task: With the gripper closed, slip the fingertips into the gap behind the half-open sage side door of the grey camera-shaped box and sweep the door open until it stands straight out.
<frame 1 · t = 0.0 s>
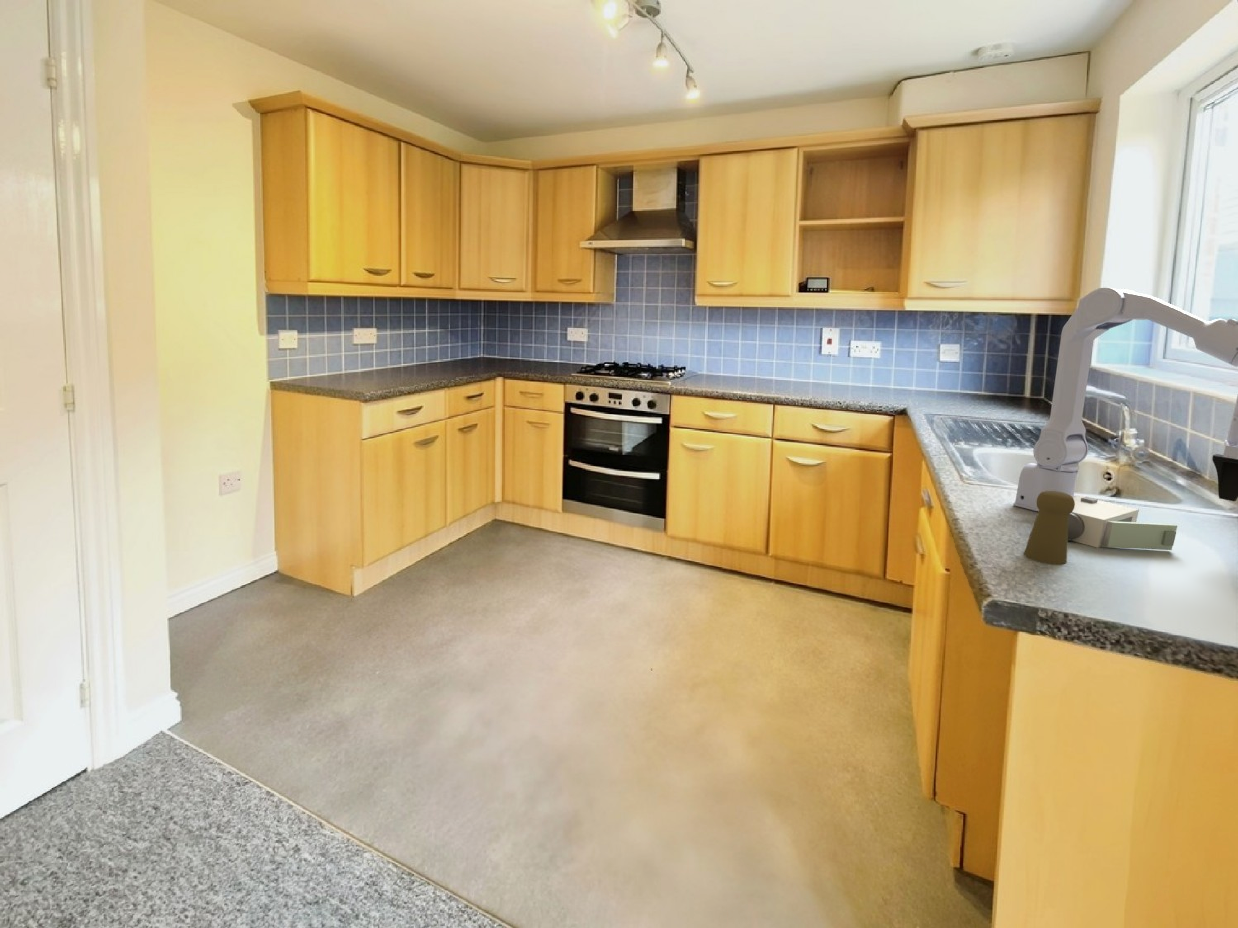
hand: (1235, 496, 116), 10 cm above the countertop, tool pointing down, fingers open, 7 cm apart
cork: (1044, 558, 113), on the countertop
side door: (1139, 536, 118), point 2 cm above the countertop, hinge at 35.0°
camera box: (1085, 533, 127), on the countertop
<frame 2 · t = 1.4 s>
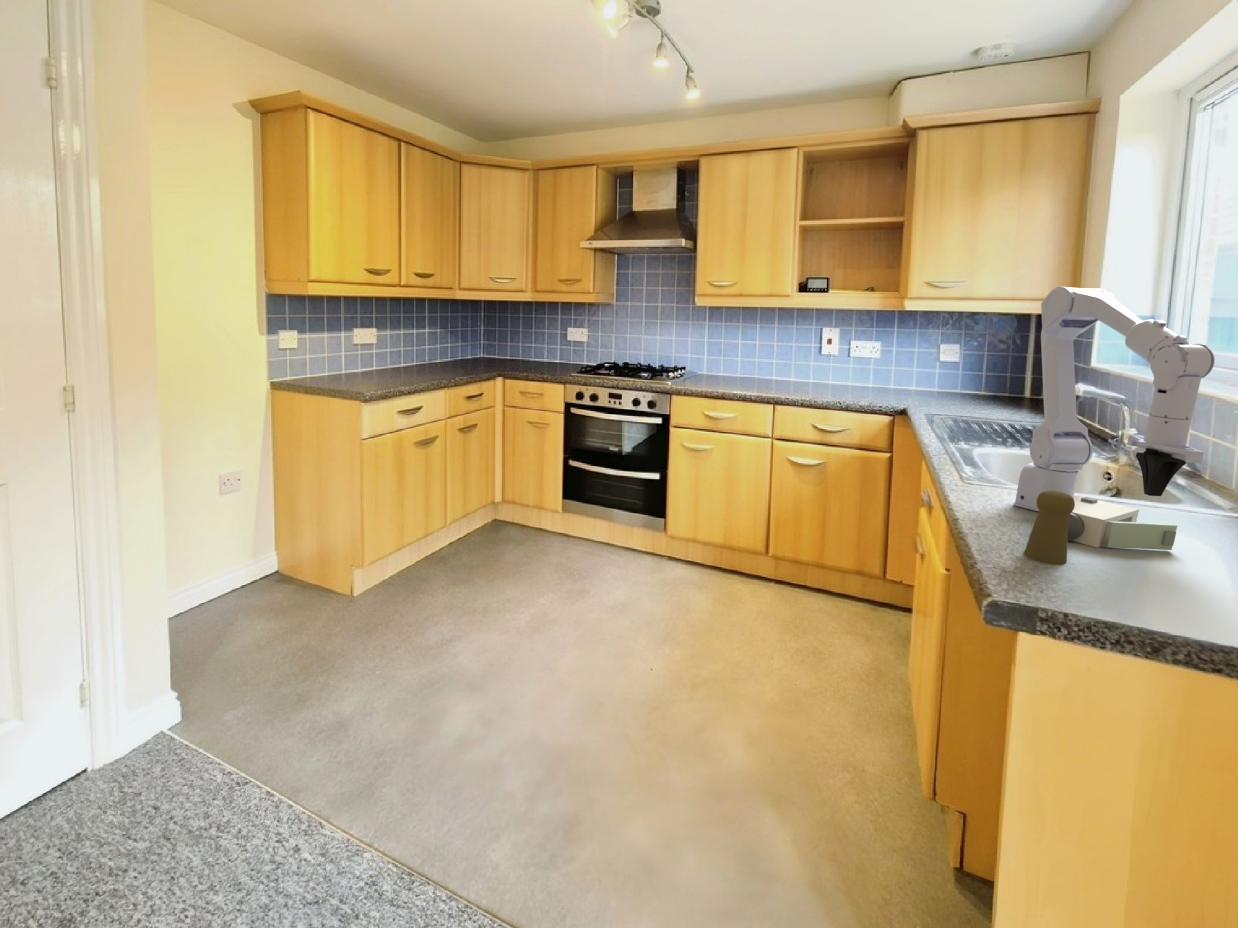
hand: (1152, 495, 120), 9 cm above the countertop, tool pointing down, fingers closed
nothing on the countertop moved.
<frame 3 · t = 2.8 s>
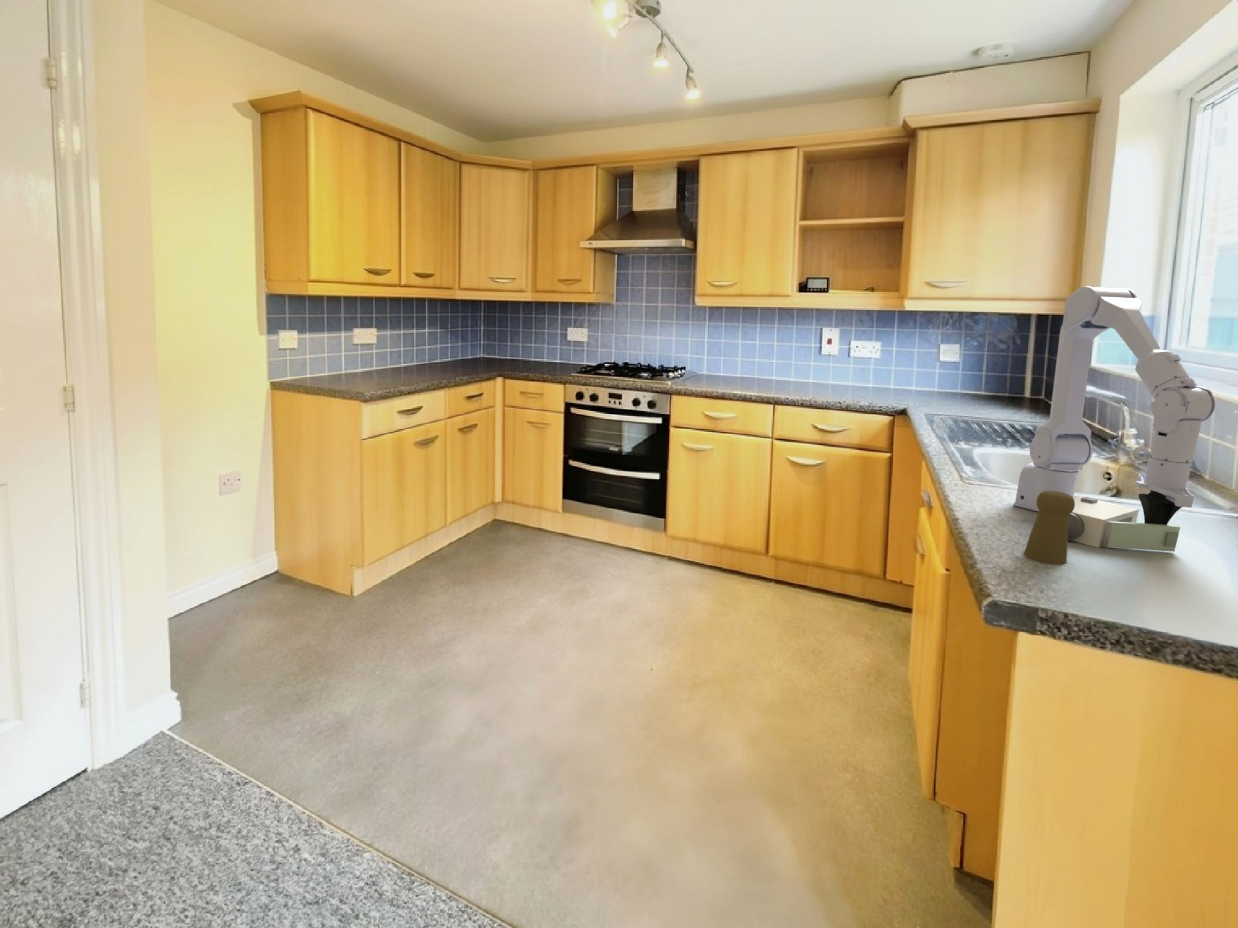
hand: (1152, 536, 119), 2 cm above the countertop, tool pointing down, fingers closed
side door: (1141, 536, 118), point 3 cm above the countertop, hinge at 38.7°, touching gripper
everything else where it was.
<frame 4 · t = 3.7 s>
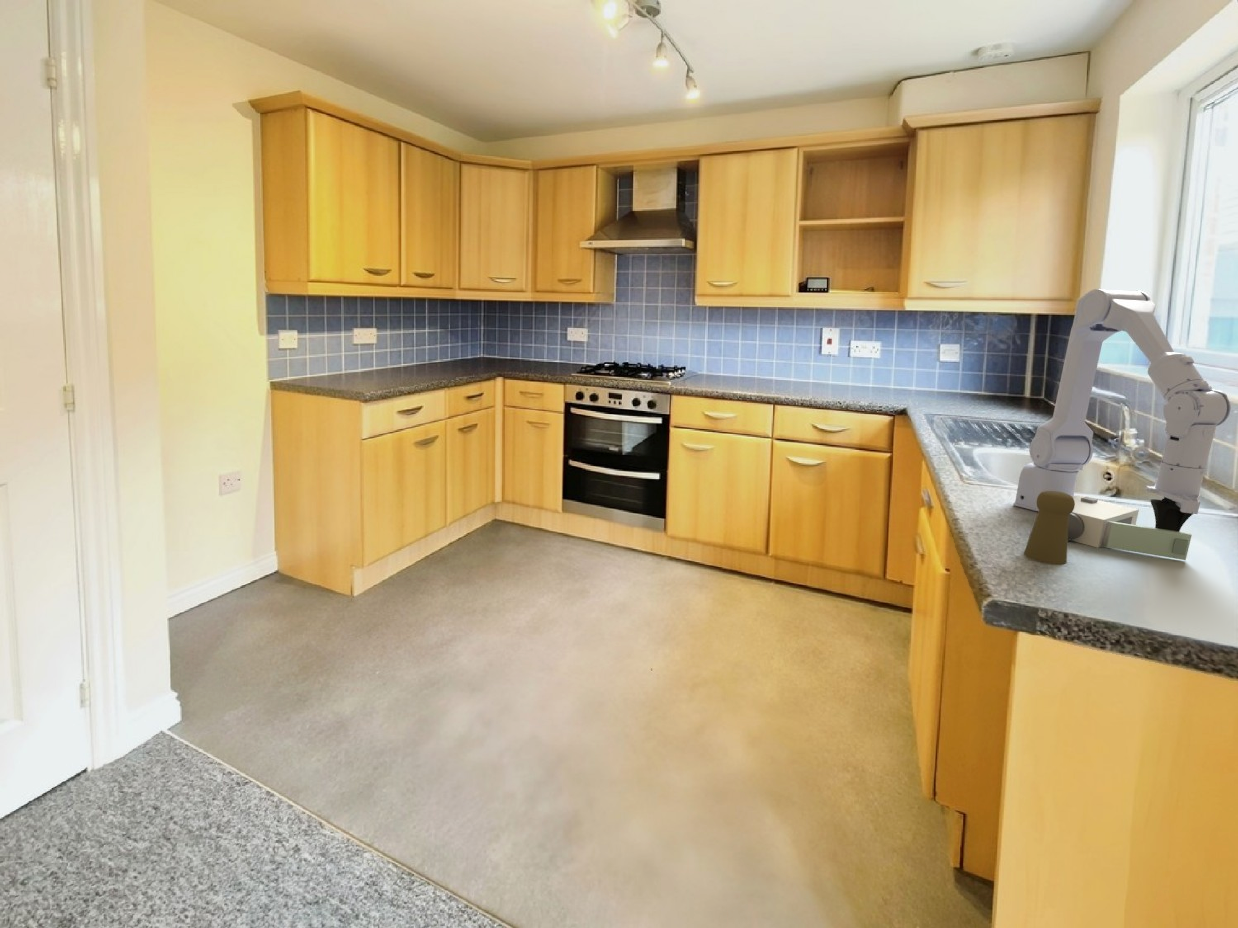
hand: (1163, 543, 116), 2 cm above the countertop, tool pointing down, fingers closed, pressing on side door
side door: (1145, 540, 116), point 3 cm above the countertop, hinge at 62.0°, touching gripper
everything else where it was.
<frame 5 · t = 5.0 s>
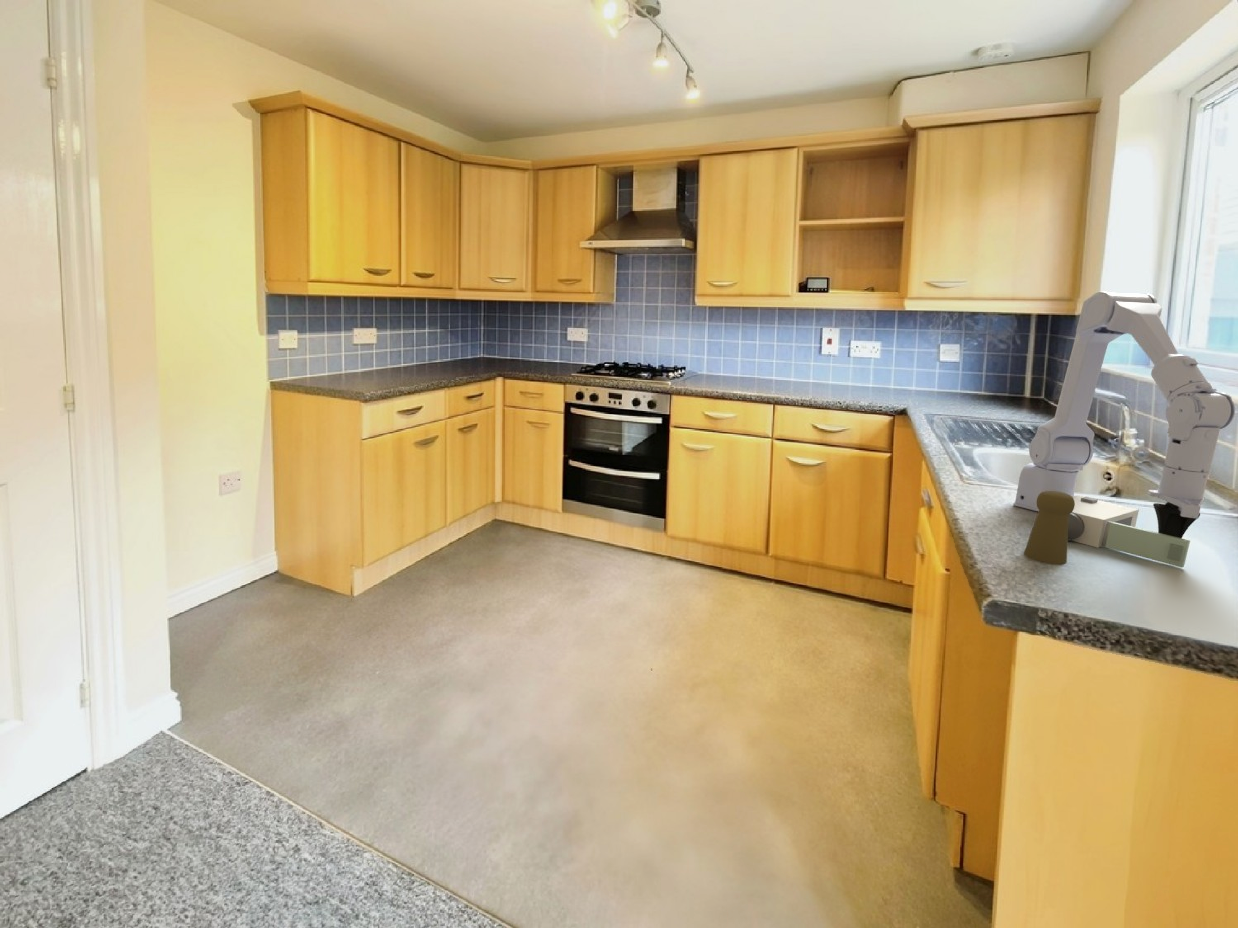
hand: (1166, 548, 114), 2 cm above the countertop, tool pointing down, fingers closed
side door: (1143, 543, 114), point 2 cm above the countertop, hinge at 88.1°, touching gripper
everything else where it was.
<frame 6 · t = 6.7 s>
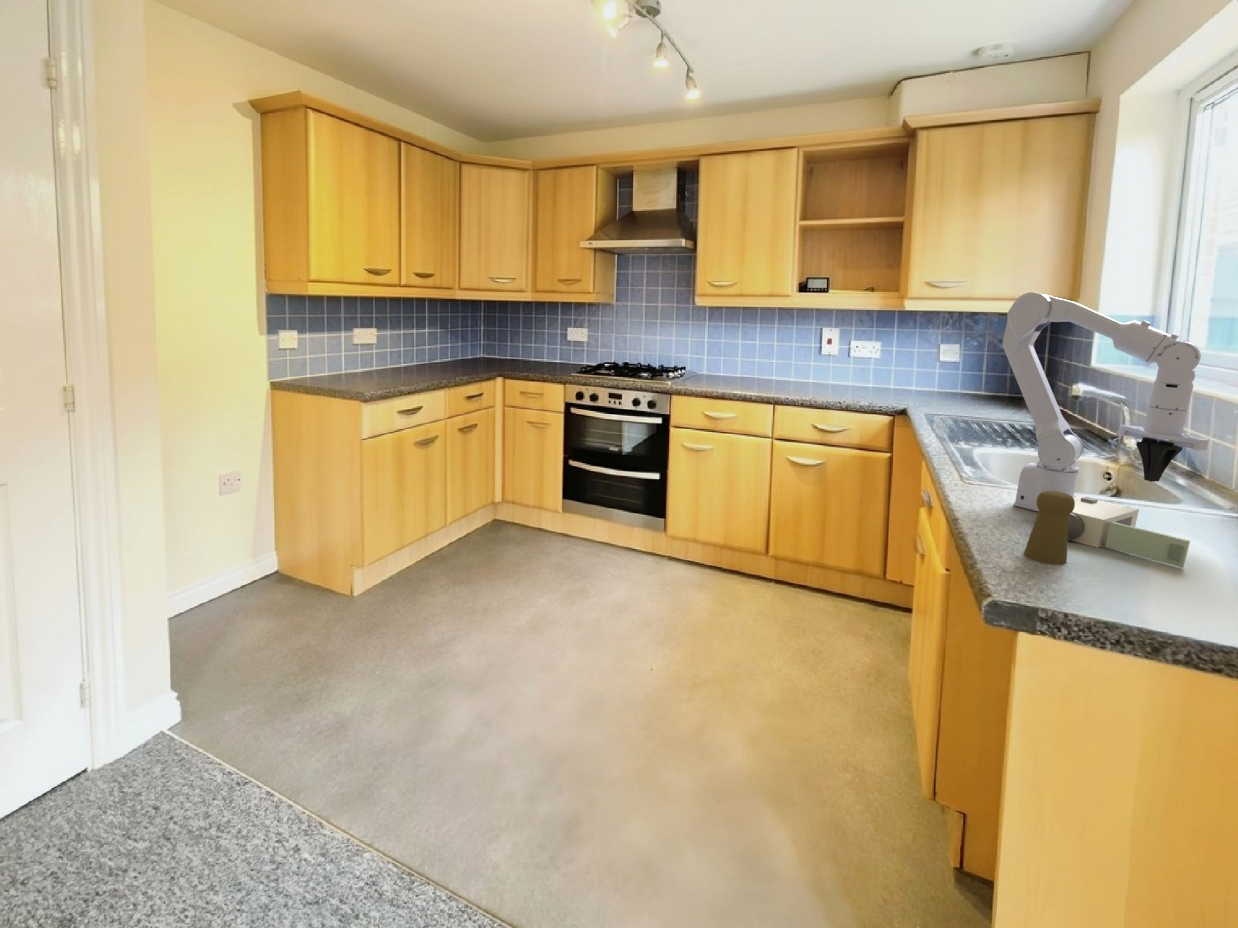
hand: (1151, 480, 129), 9 cm above the countertop, tool pointing down, fingers closed
side door: (1143, 543, 114), point 3 cm above the countertop, hinge at 88.3°
everything else where it was.
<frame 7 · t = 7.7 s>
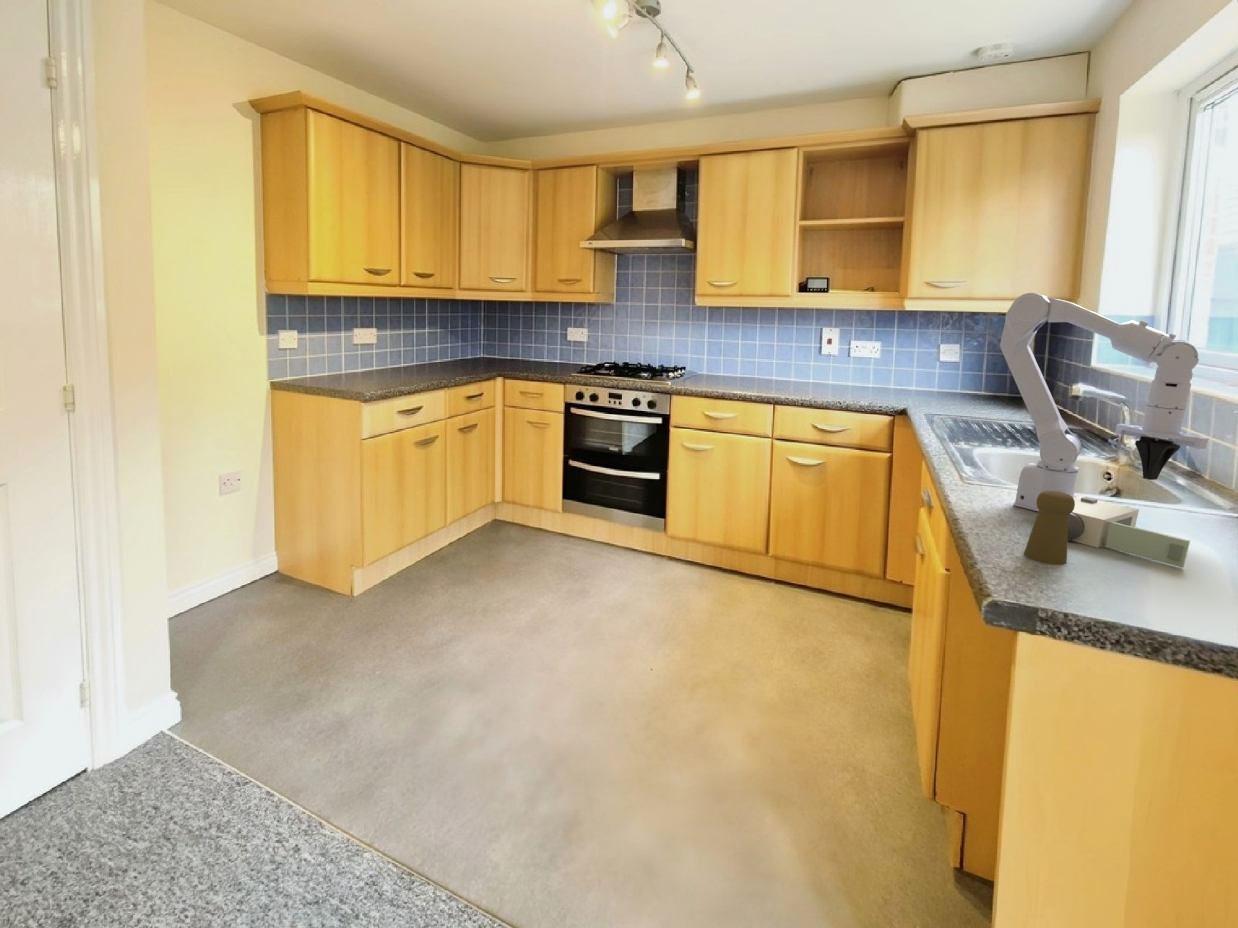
hand: (1149, 478, 131), 9 cm above the countertop, tool pointing down, fingers closed
nothing on the countertop moved.
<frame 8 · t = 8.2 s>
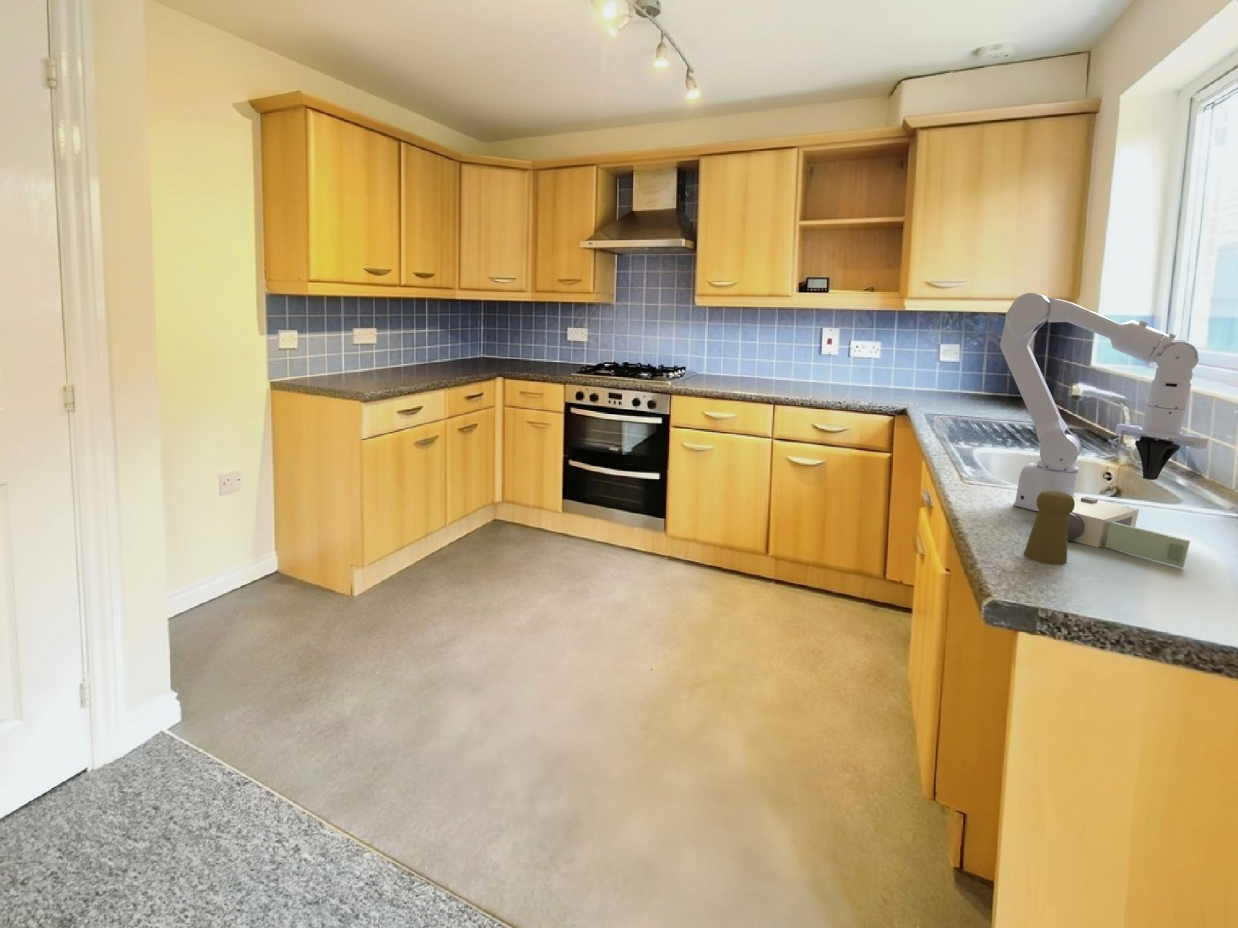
hand: (1149, 478, 131), 9 cm above the countertop, tool pointing down, fingers closed
nothing on the countertop moved.
at the end: side door at +88° (first picture: +35°); cork moved 0.2 cm from its start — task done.
